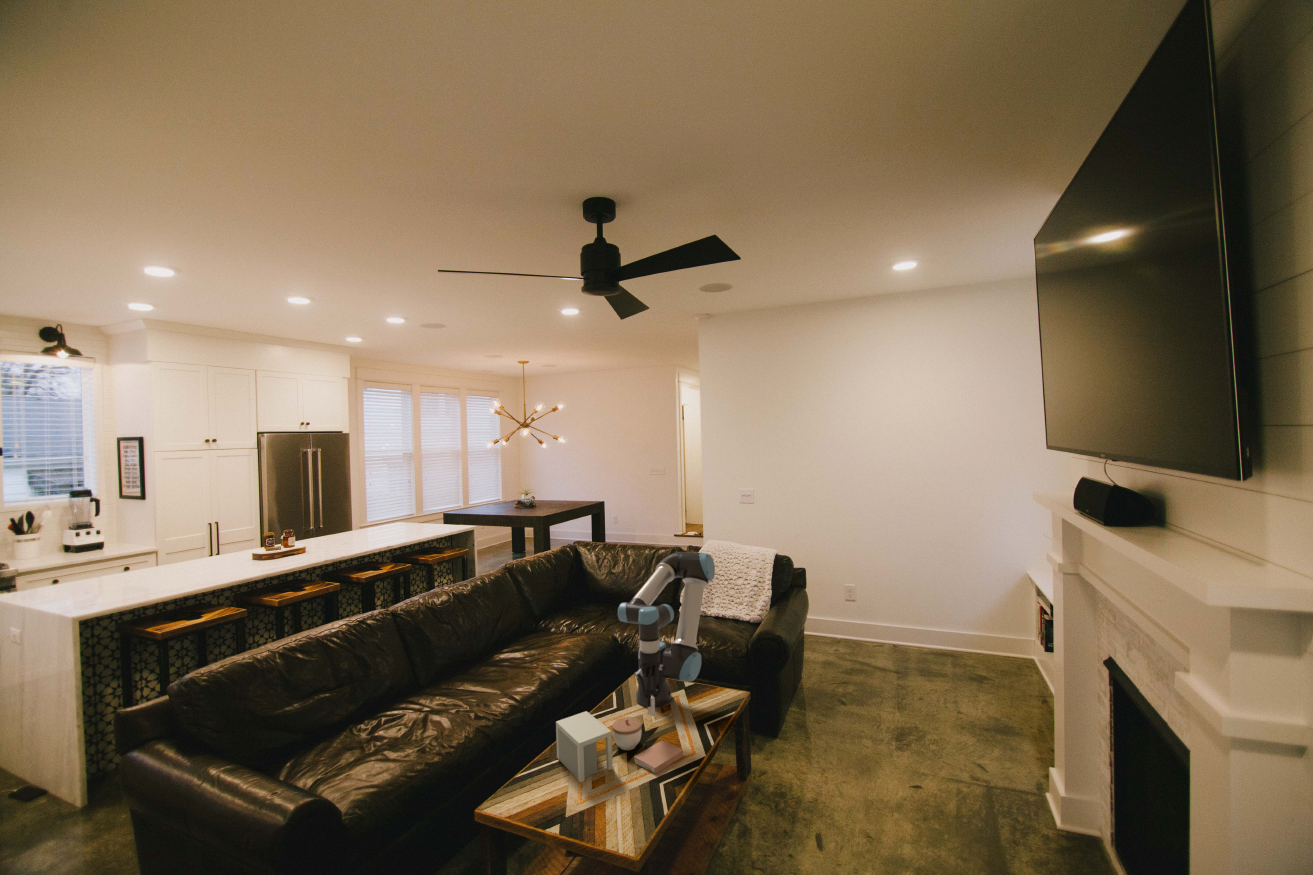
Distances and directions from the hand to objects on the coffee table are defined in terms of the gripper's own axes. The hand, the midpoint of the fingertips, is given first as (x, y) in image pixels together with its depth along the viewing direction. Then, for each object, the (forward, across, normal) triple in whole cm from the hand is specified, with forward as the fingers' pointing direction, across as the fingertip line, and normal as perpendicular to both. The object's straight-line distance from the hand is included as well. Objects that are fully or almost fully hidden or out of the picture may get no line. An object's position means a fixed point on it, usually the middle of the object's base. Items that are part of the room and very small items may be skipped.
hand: (651, 714), depth 201 cm
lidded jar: (+8, +10, 0) cm, 13 cm away
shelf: (+8, +28, 0) cm, 29 cm away
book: (+9, +6, +14) cm, 18 cm away
